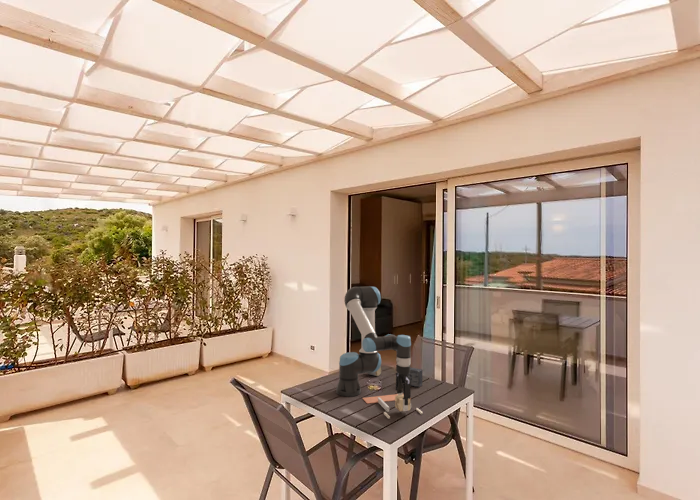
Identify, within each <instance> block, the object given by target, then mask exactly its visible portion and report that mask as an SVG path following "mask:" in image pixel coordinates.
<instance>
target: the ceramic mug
mask: <svg viewBox="0 0 700 500" xmlns="http://www.w3.org/2000/svg"><path fill="white" fill-rule="evenodd" d="M381 373H382V368H381V366H380V368H379V370H378V371H375V372H372V373H367V375H370V376H374V377H379V376H380V375H382V374H381Z"/></svg>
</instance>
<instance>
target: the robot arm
mask: <svg viewBox="0 0 700 500" xmlns="http://www.w3.org/2000/svg"><path fill="white" fill-rule="evenodd" d="M343 299H344V305H345V308H346V310H348V311H349V312H350V314H351V316H352V319H353V320H354V323H355V324H356V327H357V328H358V331H359V332H360V334H361V348H360V349H359V351H358V352H359V353H358V352H356V351H351V352H345V353H343V354H341V355H340V357H339V361H338V364H339V367H338V368H339V369H338V371H339V374H338V375H339V379H338V381H337V385H336V388H335V389H336V391H335V392H336V394H337V395H339V396H341V397H348V398H349V397H357V396H359V395H361V392H362V389H361V385H360V381H359V375H362V374H368V373H372V372H375V371H378V370H379V368H380V367H381V366H382V358H381V354H380V353H379V352H382V351H391V350H392V351H395V352H396V359H395V361H396V367H395V368H396V369H395V371H396V372H395V391H396V394H398V395H404V398H403V411H402V412H407V411H409V410H408V399H410V398H412V397H411V386H410V384H411V380H409V379H408V374H409V373H410V367H411V362H412V361H411V359H412V357H411V356H412V354H411V353H412V341H411V340H412V339H411V335H405V334H398V335H395V334H391V333H390V334H389V333H388V334H386V335H384V336H378V335H377V332H376V323H375V322H376V313H375V311H376V309H377V308H378V305H380V304H381V300H382V297H381V292H380V290H379V289H378V288H377V287H376V286H370V285H369V286H367V285H366V286H353V287H350V288H349V289H348V290H347V292H346V293H345V295H344V297H343ZM410 400H411V399H410Z"/></svg>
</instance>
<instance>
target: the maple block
mask: <svg viewBox="0 0 700 500" xmlns="http://www.w3.org/2000/svg"><path fill="white" fill-rule="evenodd" d="M403 398H404V395H397V396H395V403H394V404H395V405H394V407H395V408H396V409H397V410H398V411H399V412H404V411H403ZM410 404H411V399H408V411H411V409H410Z"/></svg>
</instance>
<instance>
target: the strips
mask: <svg viewBox="0 0 700 500" xmlns="http://www.w3.org/2000/svg"><path fill="white" fill-rule="evenodd" d="M415 411H416V412H418V413H419V414H420V415H423V414H424V413H423V411H422V410H421V409H420V408H418V407H415ZM383 415H384V416H385V417H386V418H387V419H391V416H390V415H389V414H388V412H387V411H383Z"/></svg>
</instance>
